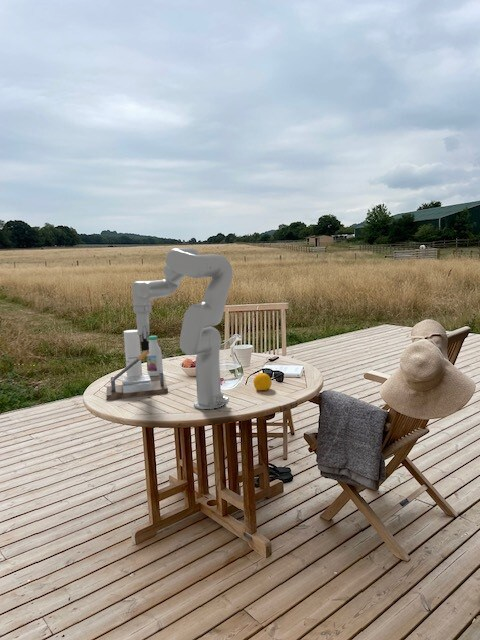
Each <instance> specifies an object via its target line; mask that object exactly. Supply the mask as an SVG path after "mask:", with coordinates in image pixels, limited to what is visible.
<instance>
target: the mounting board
mask: <svg viewBox="0 0 480 640" xmlns="http://www.w3.org/2000/svg"><path fill="white" fill-rule="evenodd" d="M151 388H152V390H148V391H140V392H131V393H123V384H119V385H118V384H117V385H116V384H115V390H116V392H112V388H111V385H109V386H106V401H107V400H108V401H110V400H117V399H127V398H135V397H144V396H152V395H158V394H159V395H161V394H167V393H169V387H168V386H167V384H166V382H165V380H164V386H161V384H160V380H154V381H153V380H151Z"/></svg>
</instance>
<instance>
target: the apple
mask: <svg viewBox="0 0 480 640" xmlns="http://www.w3.org/2000/svg"><path fill="white" fill-rule="evenodd" d="M253 387H254V389H256V390H257V391H260V390H265V391H268V390H269V389H270V388H271V387H272V378H271V377H270V375H269V374H267V373H266V372H265V373H264V372H262V373H261V372H260V373H257V375H255V376H254V378H253ZM267 389H268V390H267Z"/></svg>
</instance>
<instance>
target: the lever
mask: <svg viewBox="0 0 480 640" xmlns="http://www.w3.org/2000/svg"><path fill="white" fill-rule="evenodd" d="M149 353H150V352H149V350H145V351H142V353H141V355H140V356H138V358H137V359H136V360H135V361H133V362H132V363H131V364H130V365H128V366H127V367H125V368H124V369H122V370H121V371H120V372H119V373H117V374H115V376H113V377H114V378H112V380H115V381H116V380H117V379H118V378H120V377H121V376H122V375H123V374H125V373H127V370H128V369H130V368H131V367H132V366H133V365H135V364H136V363H137V362H138V361H139V360H141V361H142V360H143V359H144V358H145V357H146V355H148V354H149Z"/></svg>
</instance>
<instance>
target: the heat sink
mask: <svg viewBox="0 0 480 640" xmlns="http://www.w3.org/2000/svg"><path fill="white" fill-rule="evenodd" d="M159 375H160V376H159V381H160V384H161V386H164V381H165V379H164V371H163V372H162V370H160V371H159ZM114 377H115V376H110V386H111V388H112V392H116V390H115V386H116V380H112V378H114ZM121 379H122V380H121V382H122V384H121V385H123V393H131V392H140V391H148V390H152V388H151V382H152V380H151V376H149V375H148V374H142V375H140V376H131V377H127V376H124V377H121Z"/></svg>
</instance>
